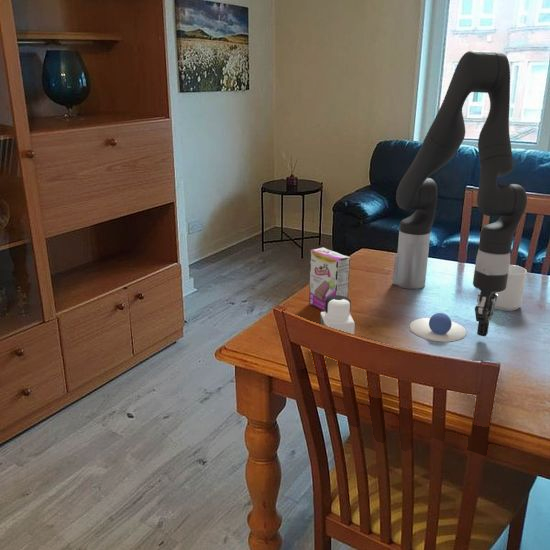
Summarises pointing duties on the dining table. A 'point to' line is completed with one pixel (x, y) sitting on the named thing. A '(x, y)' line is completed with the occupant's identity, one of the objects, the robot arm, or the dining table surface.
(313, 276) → the candy bar box
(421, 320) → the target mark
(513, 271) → the mug
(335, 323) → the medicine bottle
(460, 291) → the dining table surface
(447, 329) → the ball
